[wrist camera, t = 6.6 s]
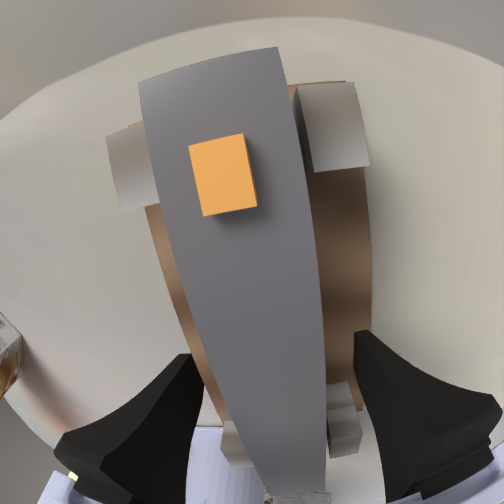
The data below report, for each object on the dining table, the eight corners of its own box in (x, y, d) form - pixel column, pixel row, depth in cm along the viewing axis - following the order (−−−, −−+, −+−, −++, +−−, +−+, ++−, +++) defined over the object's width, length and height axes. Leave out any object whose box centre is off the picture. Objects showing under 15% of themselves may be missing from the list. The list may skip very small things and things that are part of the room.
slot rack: (359, 402, 20) (374, 455, 14) (225, 419, 21) (217, 473, 15) (340, 85, 12) (380, 47, 7) (136, 127, 14) (73, 116, 8)
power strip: (318, 437, 16) (325, 497, 11) (271, 442, 17) (269, 503, 12) (273, 94, 10) (278, 36, 4) (189, 112, 10) (127, 77, 5)
